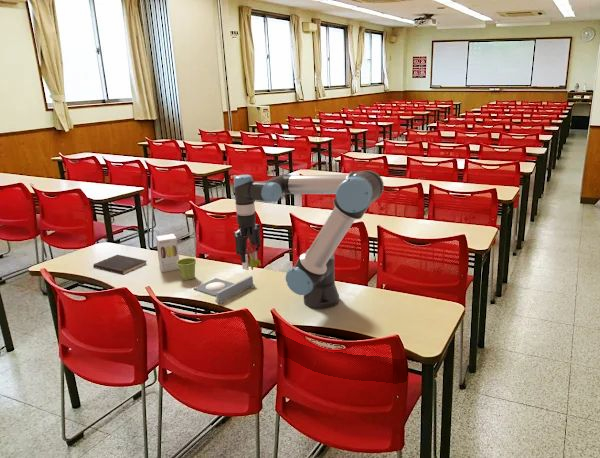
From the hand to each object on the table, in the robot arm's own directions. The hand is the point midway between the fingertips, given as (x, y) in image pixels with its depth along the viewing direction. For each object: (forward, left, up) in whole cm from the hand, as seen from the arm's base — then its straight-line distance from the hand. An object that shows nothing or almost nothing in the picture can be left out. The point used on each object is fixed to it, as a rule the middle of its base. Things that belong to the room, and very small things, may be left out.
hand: (250, 266), depth 204 cm
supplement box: (+65, -8, -17) cm, 68 cm away
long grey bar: (+13, -3, -17) cm, 21 cm away
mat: (+26, -3, -17) cm, 31 cm away
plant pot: (+46, -4, -17) cm, 49 cm away
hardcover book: (+91, +4, -17) cm, 93 cm away
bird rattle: (0, 0, -1) cm, 1 cm away
